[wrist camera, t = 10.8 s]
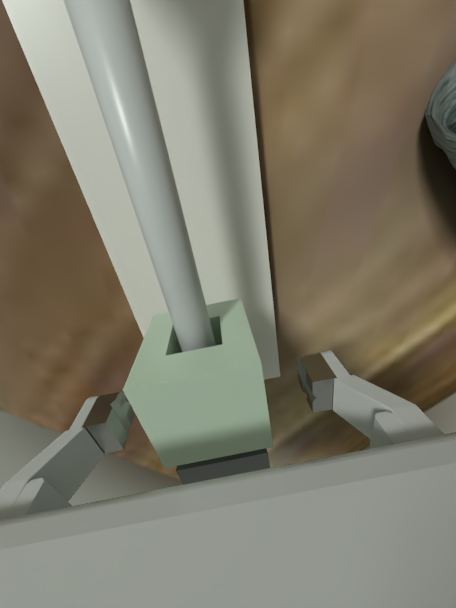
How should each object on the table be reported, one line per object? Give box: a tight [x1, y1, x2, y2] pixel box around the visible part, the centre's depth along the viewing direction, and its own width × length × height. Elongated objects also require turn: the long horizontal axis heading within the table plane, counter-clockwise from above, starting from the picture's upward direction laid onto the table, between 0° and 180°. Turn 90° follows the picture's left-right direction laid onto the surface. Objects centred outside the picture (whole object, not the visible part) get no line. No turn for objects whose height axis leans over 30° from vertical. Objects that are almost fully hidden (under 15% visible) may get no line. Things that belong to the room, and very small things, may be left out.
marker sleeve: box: [123, 298, 273, 468], centre depth 12 cm, size 5×5×5 cm
